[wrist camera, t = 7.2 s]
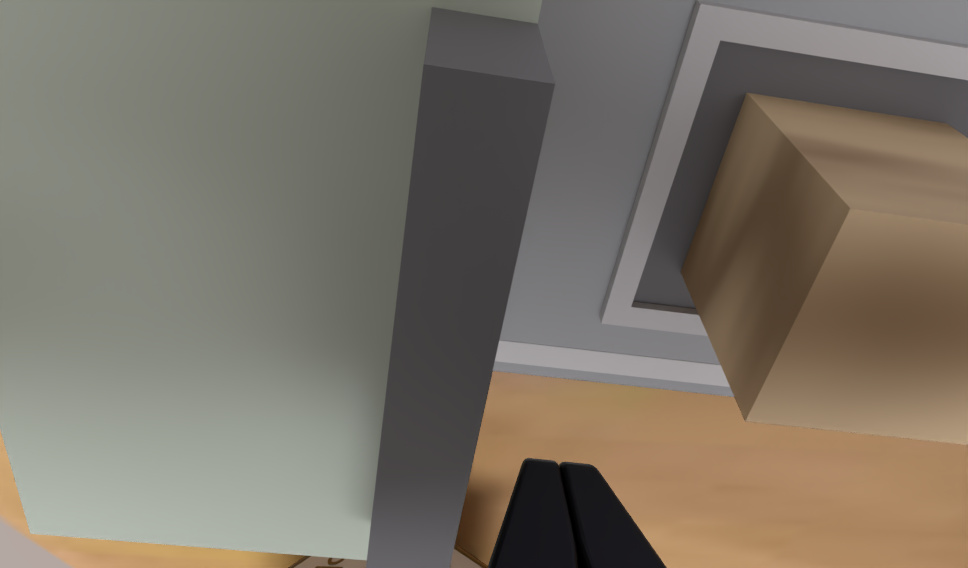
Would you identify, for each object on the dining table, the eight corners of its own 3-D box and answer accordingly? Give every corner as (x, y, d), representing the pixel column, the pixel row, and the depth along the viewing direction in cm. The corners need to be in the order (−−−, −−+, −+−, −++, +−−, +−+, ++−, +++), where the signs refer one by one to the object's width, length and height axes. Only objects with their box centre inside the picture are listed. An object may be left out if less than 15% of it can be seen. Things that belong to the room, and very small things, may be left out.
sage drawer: (440, 354, 19) (427, 671, 12) (152, 323, 18) (-33, 642, 12) (521, -138, 13) (582, -45, 6) (90, -217, 12) (-388, -211, 5)
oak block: (855, 294, 18) (968, 445, 14) (680, 272, 18) (744, 421, 14) (947, 123, 16) (1118, 245, 12) (746, 92, 15) (850, 208, 11)
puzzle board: (1005, 412, 22) (1024, 435, 21) (175, 321, 19) (163, 343, 18) (1331, -16, 15) (1376, -5, 14) (122, -242, 12) (101, -243, 12)
